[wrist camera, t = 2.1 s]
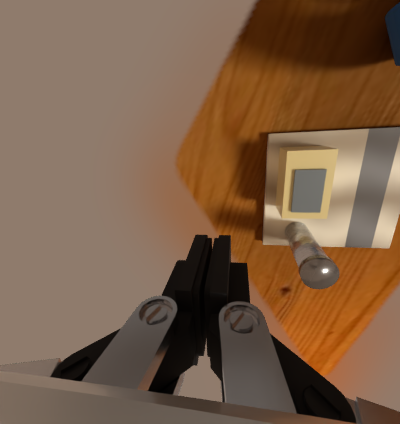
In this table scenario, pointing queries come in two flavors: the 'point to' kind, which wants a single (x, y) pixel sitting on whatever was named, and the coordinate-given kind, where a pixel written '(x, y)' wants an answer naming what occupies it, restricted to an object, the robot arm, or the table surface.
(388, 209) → the white square mat
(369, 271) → the table surface
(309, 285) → the steel pin
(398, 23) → the handheld scanner
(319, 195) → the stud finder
